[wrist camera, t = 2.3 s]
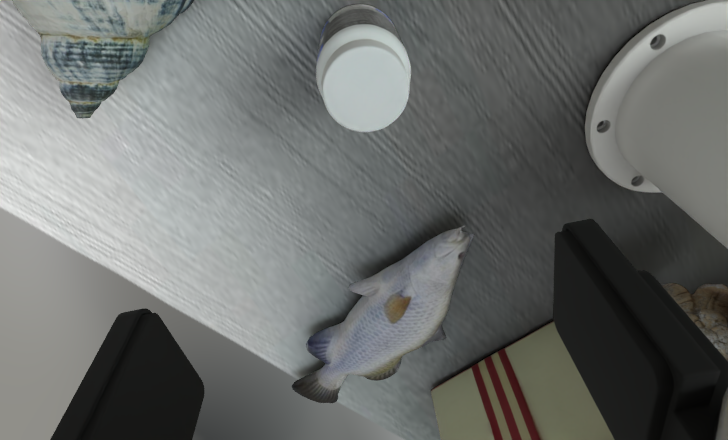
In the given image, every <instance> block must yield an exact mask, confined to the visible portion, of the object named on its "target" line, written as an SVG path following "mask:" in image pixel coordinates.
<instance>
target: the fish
mask: <svg viewBox="0 0 728 440" xmlns="http://www.w3.org/2000/svg"><path fill="white" fill-rule="evenodd" d="M464 226H465V225H464ZM464 226H462V227H464ZM462 227H460V228H458V229H451V230H448V231H445V232H444V233H441V234H439V235H438V236H436V237H434V238H432V239H430V240H428V241H427V242H425V243H424V244H423V245H421V246H420V247H419V248H417V249H416V250H415V251H413V252H412V253H411V254H409V255H408V256H406V257H405V258H404V259H402V260H400V261H398V262H397V263H395V264H393V265H391V266H389V267H387V268H385V269H384V270H382V271H381V272H379V273H377V274H375V275H373V276H372V277H369V278H366V279H363V280H360V281H357V282H354V283H352V284H351V285H350V286H349V287H348V289H349V290H351V291H352V292H354V293H358V294H361V295H363V296H362V298H361V299H360V300H359V301H358V302H357V303H356V305H355V306H354V307H353V308H352V310H351V311H350V312H349V314H348V316H347V317H346V319H345V320H344V321H343V322H342V323H340V324H338V325H335V326H332V327H329V328H326V329H324V330H321V331H319V332H317V333H315V334H314V335H313V336H311V337H310V338H309V340H308V341H307V343H306V348H307V350H308V351H309V352H310V353H311V354H312V355H313V356H315V357H316V358H318V359H319V360H321V361H323V362H324V363H326V364H325V365H324V366H323V367H322V368H321V369H319V370H317V371H315V372H313V373H311V374H309V375H307V376H305V377H303V378H301V379H299V380H297V381H296V382H294V384H293V385H292V388H293V390H295V392H297V393H299V394H300V395H302V396H304V397H306V398H308V399H310V400H313V401H316V402H320V403H334V402H336V401H337V399H338V393H339V390H340V388H341V385H342V383H343V381H344V380H345V378H346V377H347V376H348V375H349V374H351V375H358V376H364V377H366V378H367V379H370V380H383V379H386V378H389V377H390V376H392V375H393V374H395V373H396V372H397V370H398V369H399V367H400V364H401V358H402V356H403V355H405V354H407V353H409V352H411V351H413V350H416V349H419V348H421V347H423V346H425V345H426V344H428V343H430V342H434V341H439V340H444V339H445V338H446V335H445V333H444V331H443V328H442V322H443V320H444V319H445V317H446V316H447V313H448V311H449V306H450V302H451V297H452V294H453V291H454V287H455V284H456V281H457V278H458V275H459V272H460V269H461V266H462V263H463V261H464V258H465V256H466V253H467V251H468V248H469V246H470V243H471V241H472V239H473V237H474V235H475V234H472V233H467V232H464V231H461V230H462Z"/></svg>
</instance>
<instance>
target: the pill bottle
mask: <svg viewBox="0 0 728 440" xmlns="http://www.w3.org/2000/svg"><path fill="white" fill-rule="evenodd" d="M410 79H411V67H410V62H409V58H408V55H407V52H406V49H405V47H404V46H403V43H402V41H401V38H400V36H399V34H398V32H397V31H396V28H395V26H394V25H393V23H392V22H391V20H390V19H389V18H388V17H387V16H386V15H385V14H384V13H383V12H382V11H380V10H379V9H377V8H375V7H372V6H369V5H365V4H356V5H350V6H347V7H344V8H342V9H340V10H339V11H337V12H336V13H334V14H333V15H332V16H331V17H330V19H329V20H328V21H327V23H326V24H325V26H324V28H323V31H322V34H321V37H320V42H319V48H318V58H317V64H316V80H317V85H318V89H319V92H320V94H321V96H322V98H323V101H324V104H325V106H326V109H327V110H328V112H329V114H330V115H331V116H332V117H333V119H334V120H335V121H336V122H338V123H339V124H340V125H342V126H343V127H345V128H347V129H350V130H353V131H358V132H373V131H377V130H380V129H382V128H385V127H386V126H388V125H390V124H391V123H392V122H394V121H395V120H396V119H397V118H398V117H399V116H400V114H401V113H402V111H403V110H404V108H405V106H406V103H407V101H408V97H409V84H410Z"/></svg>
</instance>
